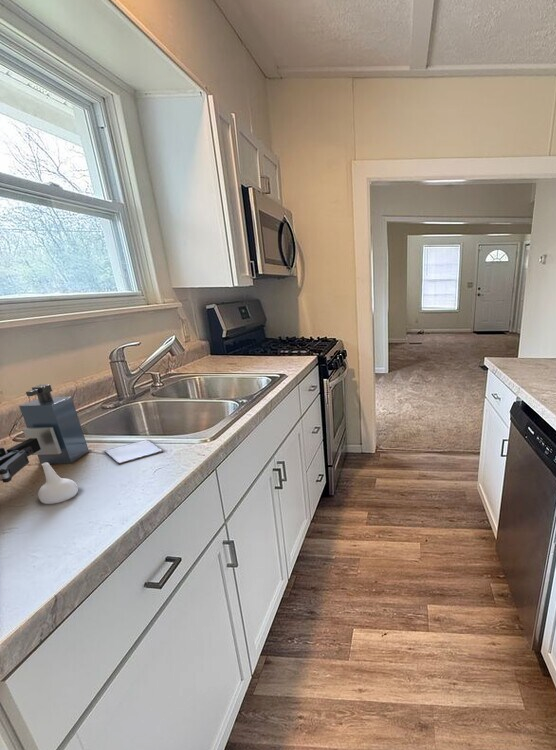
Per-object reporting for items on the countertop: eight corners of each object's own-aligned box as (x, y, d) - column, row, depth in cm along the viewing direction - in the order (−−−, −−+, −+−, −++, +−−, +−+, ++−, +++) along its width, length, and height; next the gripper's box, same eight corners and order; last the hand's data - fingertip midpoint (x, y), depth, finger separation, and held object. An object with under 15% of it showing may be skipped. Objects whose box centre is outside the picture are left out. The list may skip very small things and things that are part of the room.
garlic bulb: (71, 504, 79) (58, 468, 76) (34, 508, 78) (19, 472, 75) (85, 489, 85) (73, 455, 82) (51, 493, 83) (38, 458, 80)
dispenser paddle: (58, 454, 92) (49, 428, 90) (31, 455, 92) (21, 429, 90) (61, 452, 93) (52, 426, 91) (34, 453, 93) (25, 427, 91)
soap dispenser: (70, 466, 95) (44, 390, 88) (39, 467, 95) (10, 390, 88) (89, 453, 102) (67, 381, 95) (61, 454, 102) (36, 382, 95)
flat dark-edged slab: (105, 454, 102) (104, 450, 101) (147, 443, 109) (146, 439, 108) (119, 466, 95) (118, 462, 95) (163, 454, 102) (163, 450, 101)
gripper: (-97, 517, 69) (11, 460, 91) (-17, 514, 70) (71, 458, 92) (-119, 478, 66) (-2, 428, 88) (-35, 475, 67) (60, 427, 89)
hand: (35, 443), depth 90 cm, fingers closed
